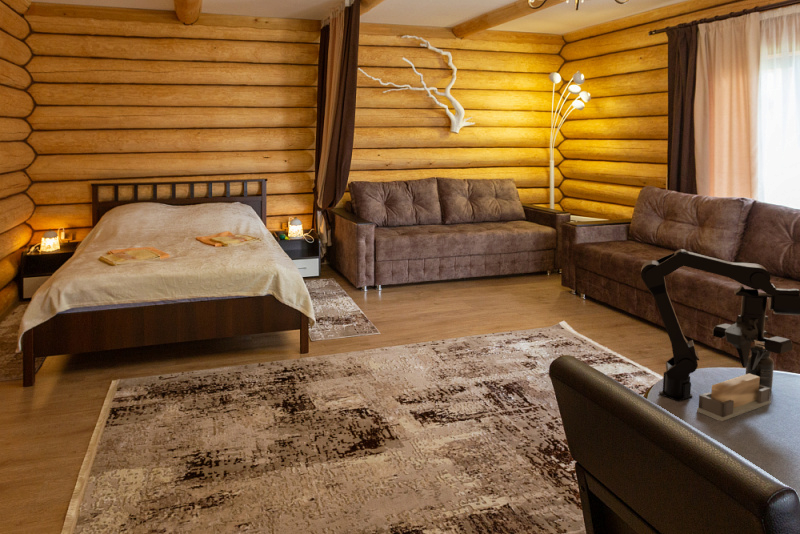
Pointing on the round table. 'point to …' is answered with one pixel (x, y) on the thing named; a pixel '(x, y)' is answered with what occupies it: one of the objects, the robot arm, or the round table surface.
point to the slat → (737, 390)
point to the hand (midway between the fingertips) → (748, 368)
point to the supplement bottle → (763, 369)
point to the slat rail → (731, 405)
